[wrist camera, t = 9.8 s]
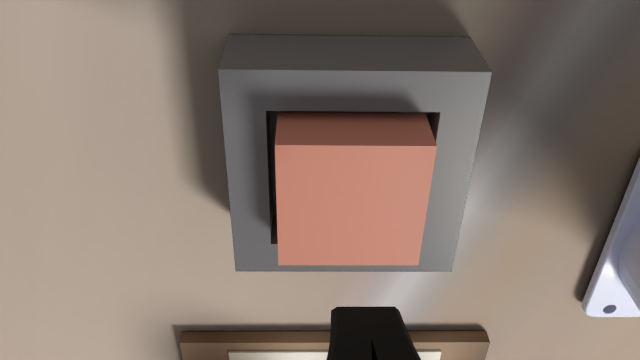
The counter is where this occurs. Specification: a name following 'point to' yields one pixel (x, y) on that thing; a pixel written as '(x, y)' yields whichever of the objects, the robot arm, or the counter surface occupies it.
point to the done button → (352, 187)
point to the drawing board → (321, 345)
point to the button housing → (356, 97)
